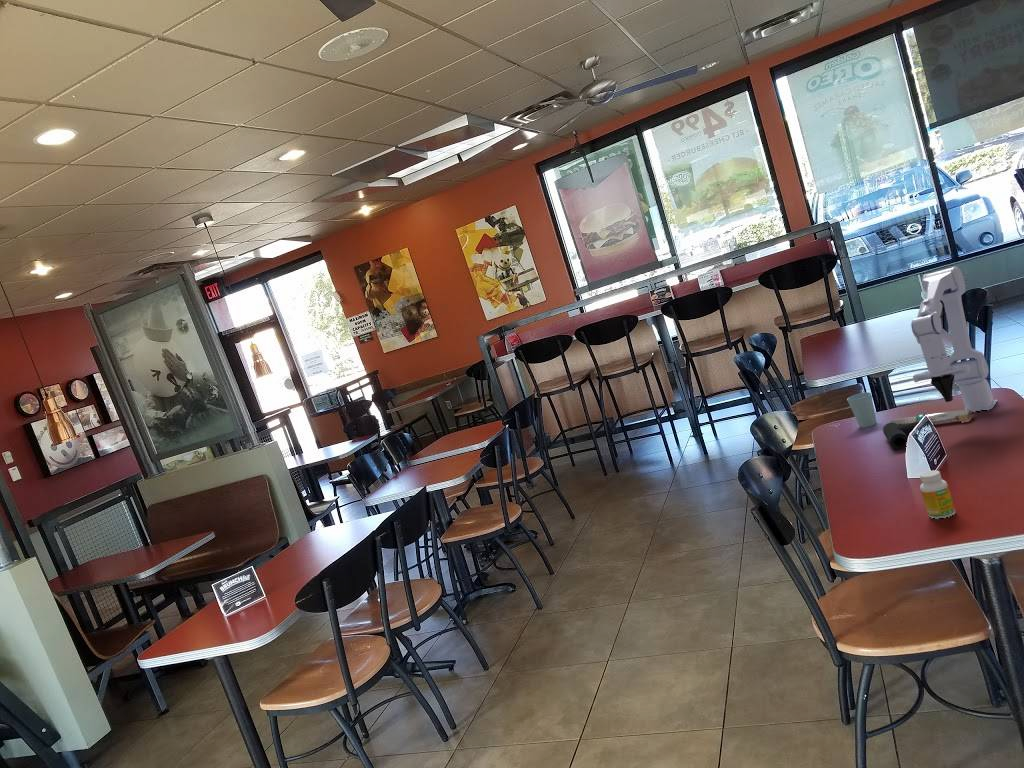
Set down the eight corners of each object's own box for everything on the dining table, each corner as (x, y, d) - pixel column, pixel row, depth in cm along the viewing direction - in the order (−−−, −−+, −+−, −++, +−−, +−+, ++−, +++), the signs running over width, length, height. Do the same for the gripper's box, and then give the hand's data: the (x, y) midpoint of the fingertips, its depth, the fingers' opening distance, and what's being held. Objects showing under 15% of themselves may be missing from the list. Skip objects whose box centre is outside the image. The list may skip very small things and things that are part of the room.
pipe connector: (920, 413, 234) (930, 424, 220) (926, 430, 234) (936, 442, 220) (880, 424, 238) (887, 435, 224) (886, 440, 238) (893, 452, 224)
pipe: (891, 432, 242) (887, 422, 242) (896, 427, 246) (892, 417, 245) (969, 422, 226) (965, 410, 226) (973, 417, 230) (969, 405, 229)
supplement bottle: (945, 520, 166) (931, 478, 165) (923, 518, 171) (910, 477, 170) (961, 511, 168) (948, 469, 167) (940, 509, 173) (927, 468, 172)
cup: (851, 429, 262) (842, 400, 261) (865, 421, 265) (856, 393, 264) (869, 428, 255) (860, 399, 254) (884, 420, 258) (875, 391, 258)
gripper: (904, 364, 222) (918, 409, 223) (959, 354, 212) (973, 400, 212) (912, 358, 227) (925, 401, 228) (966, 347, 216) (980, 393, 217)
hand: (949, 400), depth 220 cm, fingers closed
